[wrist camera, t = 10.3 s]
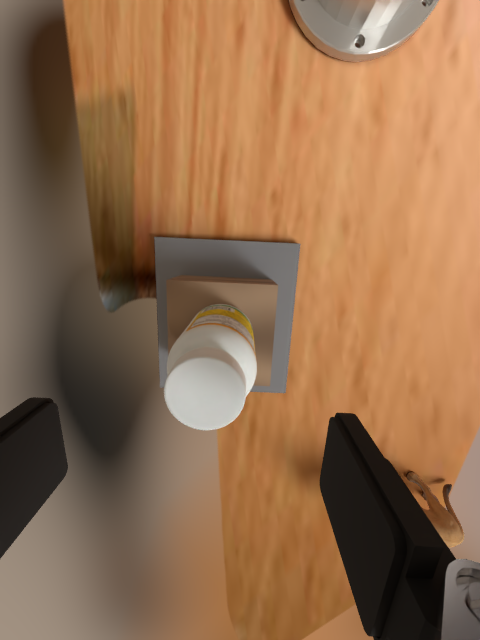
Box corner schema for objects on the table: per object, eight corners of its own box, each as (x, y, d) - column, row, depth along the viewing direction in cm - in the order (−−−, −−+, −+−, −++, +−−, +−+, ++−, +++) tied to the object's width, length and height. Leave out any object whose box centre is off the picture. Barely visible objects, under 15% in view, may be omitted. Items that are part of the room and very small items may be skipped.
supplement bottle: (222, 289, 21) (205, 318, 11) (266, 335, 22) (284, 397, 12) (176, 332, 22) (126, 392, 12) (220, 375, 22) (205, 460, 13)
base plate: (157, 237, 25) (154, 236, 24) (298, 244, 25) (300, 243, 24) (162, 383, 29) (160, 387, 28) (284, 389, 29) (285, 393, 28)
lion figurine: (330, 505, 33) (361, 593, 25) (330, 472, 32) (362, 553, 23) (445, 496, 33) (519, 584, 24) (449, 462, 32) (528, 542, 23)
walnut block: (180, 275, 25) (166, 280, 20) (271, 279, 25) (278, 285, 20) (181, 359, 28) (169, 381, 23) (265, 363, 28) (269, 386, 23)
